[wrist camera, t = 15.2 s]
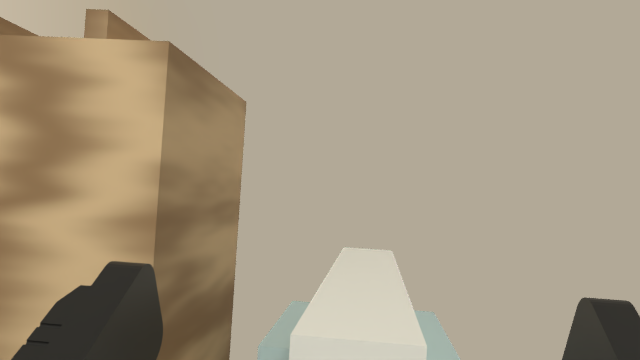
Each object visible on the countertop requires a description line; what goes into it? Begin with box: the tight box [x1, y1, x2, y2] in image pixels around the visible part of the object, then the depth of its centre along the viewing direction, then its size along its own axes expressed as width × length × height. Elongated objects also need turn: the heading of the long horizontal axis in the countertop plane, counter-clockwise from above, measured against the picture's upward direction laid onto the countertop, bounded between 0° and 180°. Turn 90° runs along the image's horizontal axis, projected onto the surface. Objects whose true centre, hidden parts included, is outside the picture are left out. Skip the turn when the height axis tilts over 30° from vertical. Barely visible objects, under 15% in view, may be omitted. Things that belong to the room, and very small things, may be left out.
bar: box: [289, 247, 427, 360], centre depth 24 cm, size 3×23×3 cm, turn 175°
